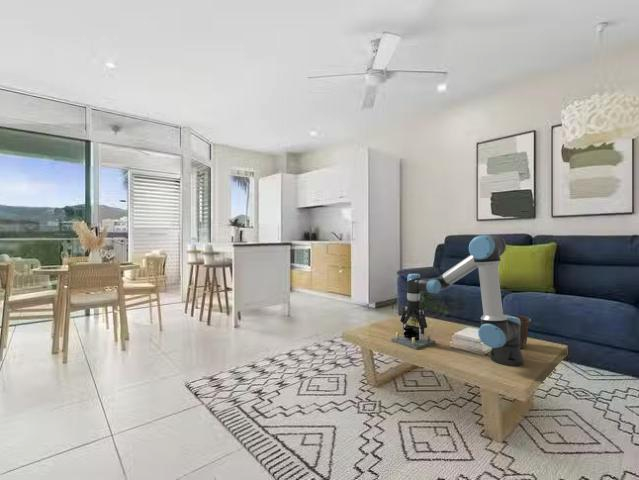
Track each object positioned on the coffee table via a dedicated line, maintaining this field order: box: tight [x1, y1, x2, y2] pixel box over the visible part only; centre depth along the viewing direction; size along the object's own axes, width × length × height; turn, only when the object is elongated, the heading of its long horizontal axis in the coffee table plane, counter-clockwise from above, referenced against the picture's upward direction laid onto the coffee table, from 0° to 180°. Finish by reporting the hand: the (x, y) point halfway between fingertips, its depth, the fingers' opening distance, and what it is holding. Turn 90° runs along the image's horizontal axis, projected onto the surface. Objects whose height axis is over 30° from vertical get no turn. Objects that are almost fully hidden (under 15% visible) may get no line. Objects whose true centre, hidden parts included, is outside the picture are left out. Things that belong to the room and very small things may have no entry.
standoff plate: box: [390, 332, 436, 351], centre depth 198 cm, size 18×18×6 cm
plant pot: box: [503, 313, 531, 349], centre depth 193 cm, size 16×16×16 cm
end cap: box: [403, 324, 425, 341], centre depth 198 cm, size 10×7×7 cm
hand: (413, 336), depth 198 cm, fingers open, 10 cm apart
